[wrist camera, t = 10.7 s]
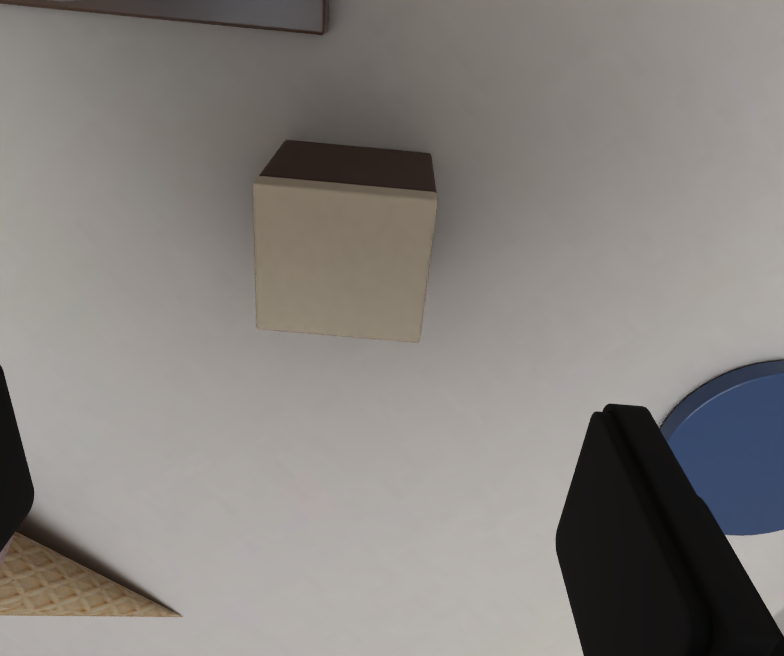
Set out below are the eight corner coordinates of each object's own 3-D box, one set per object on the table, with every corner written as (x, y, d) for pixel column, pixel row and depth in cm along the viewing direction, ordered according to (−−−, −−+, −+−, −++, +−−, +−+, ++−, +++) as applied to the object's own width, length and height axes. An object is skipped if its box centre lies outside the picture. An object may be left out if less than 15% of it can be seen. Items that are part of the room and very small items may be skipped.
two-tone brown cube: (285, 139, 18) (252, 182, 15) (431, 153, 19) (438, 200, 15) (284, 262, 20) (255, 329, 17) (417, 274, 21) (419, 343, 17)
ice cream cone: (220, 564, 29) (-152, 452, 22) (187, 676, 27) (-245, 595, 19) (179, 567, 33) (-158, 472, 25) (146, 668, 30) (-238, 595, 23)
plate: (688, 350, 22) (698, 362, 21) (910, 369, 22) (927, 382, 21) (626, 513, 26) (632, 528, 25) (814, 528, 26) (825, 543, 25)
